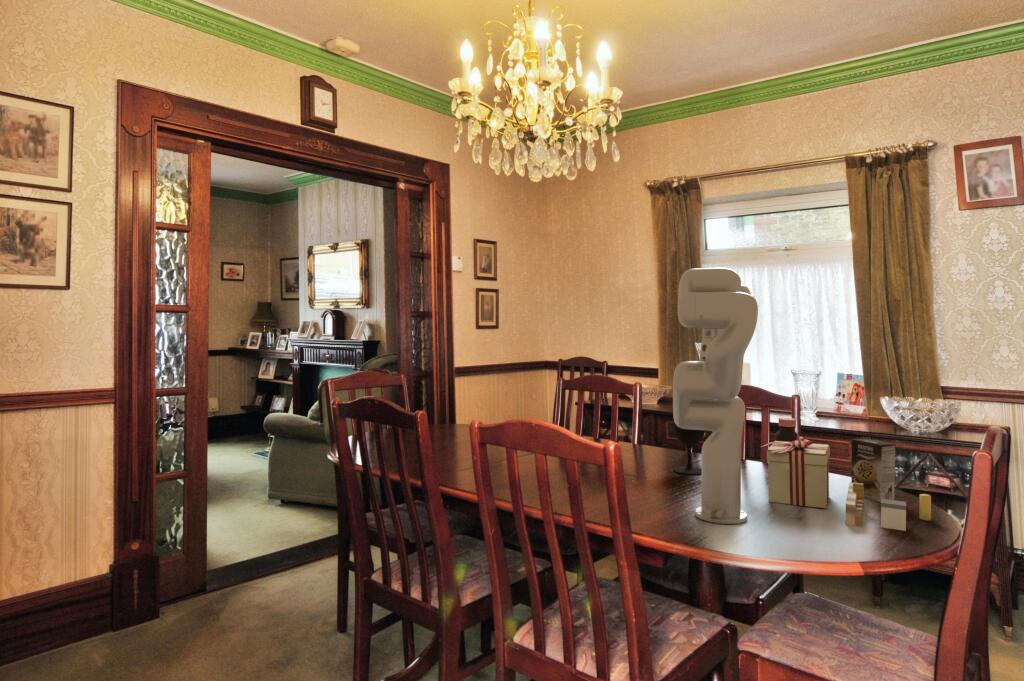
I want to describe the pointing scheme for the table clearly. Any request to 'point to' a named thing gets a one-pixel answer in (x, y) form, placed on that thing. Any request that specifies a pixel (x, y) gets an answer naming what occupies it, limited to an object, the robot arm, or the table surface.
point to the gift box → (798, 473)
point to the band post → (925, 507)
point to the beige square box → (893, 514)
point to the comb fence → (854, 504)
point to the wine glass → (688, 447)
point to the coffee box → (874, 468)
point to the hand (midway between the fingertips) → (715, 391)
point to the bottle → (786, 430)
